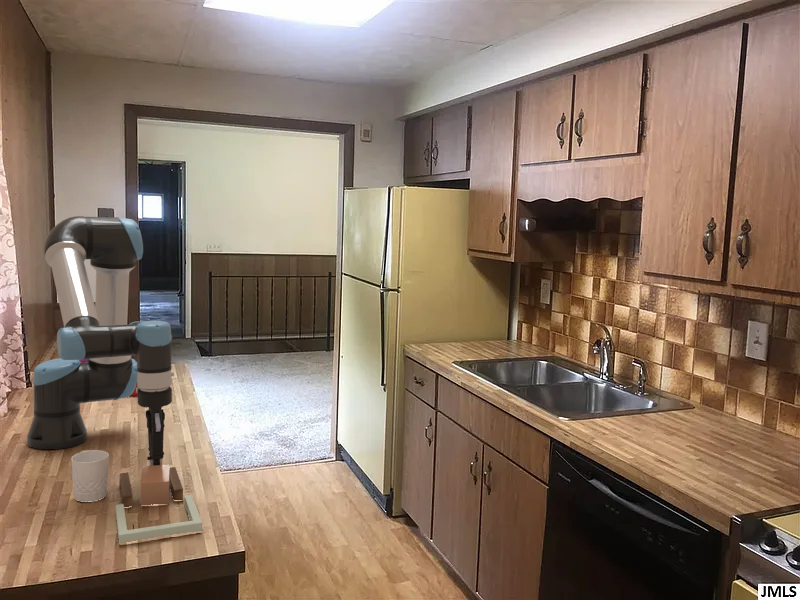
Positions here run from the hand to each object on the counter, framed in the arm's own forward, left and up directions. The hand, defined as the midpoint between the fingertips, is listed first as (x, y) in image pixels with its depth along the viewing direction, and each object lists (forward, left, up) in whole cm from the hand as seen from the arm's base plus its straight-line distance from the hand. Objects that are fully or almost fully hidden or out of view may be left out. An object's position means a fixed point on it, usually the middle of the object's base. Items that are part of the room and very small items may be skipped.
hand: (156, 483), depth 156 cm
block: (0, -3, -2) cm, 4 cm away
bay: (-1, -14, -3) cm, 15 cm away
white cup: (-14, +4, -3) cm, 15 cm away
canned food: (+2, +90, -3) cm, 90 cm away
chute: (-1, +2, -3) cm, 3 cm away
